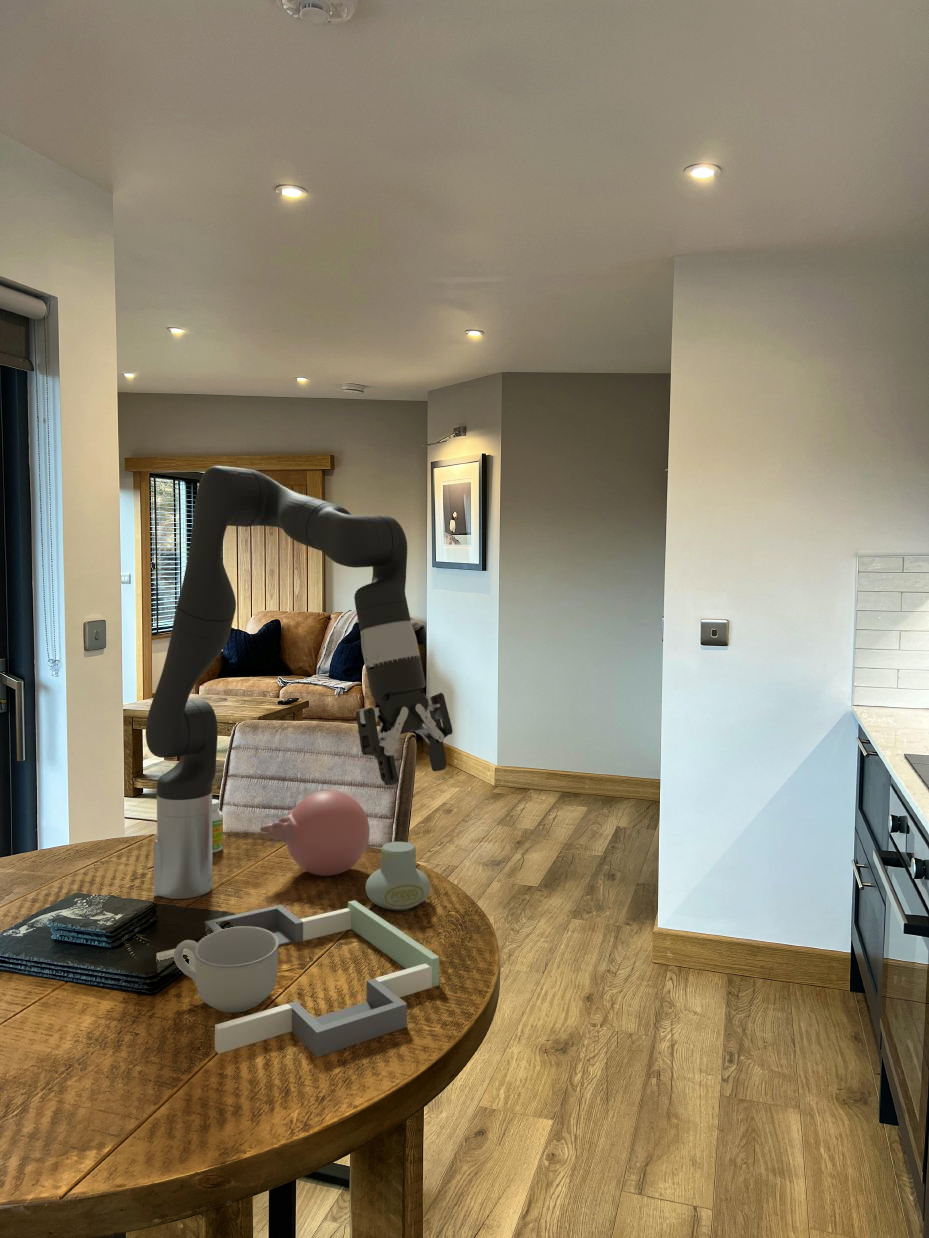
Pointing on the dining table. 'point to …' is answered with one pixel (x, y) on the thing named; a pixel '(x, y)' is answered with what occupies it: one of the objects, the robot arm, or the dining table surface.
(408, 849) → the air freshener
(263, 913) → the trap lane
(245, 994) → the teacup
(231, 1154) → the dining table surface
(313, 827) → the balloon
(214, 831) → the supplement bottle
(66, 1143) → the dining table surface
